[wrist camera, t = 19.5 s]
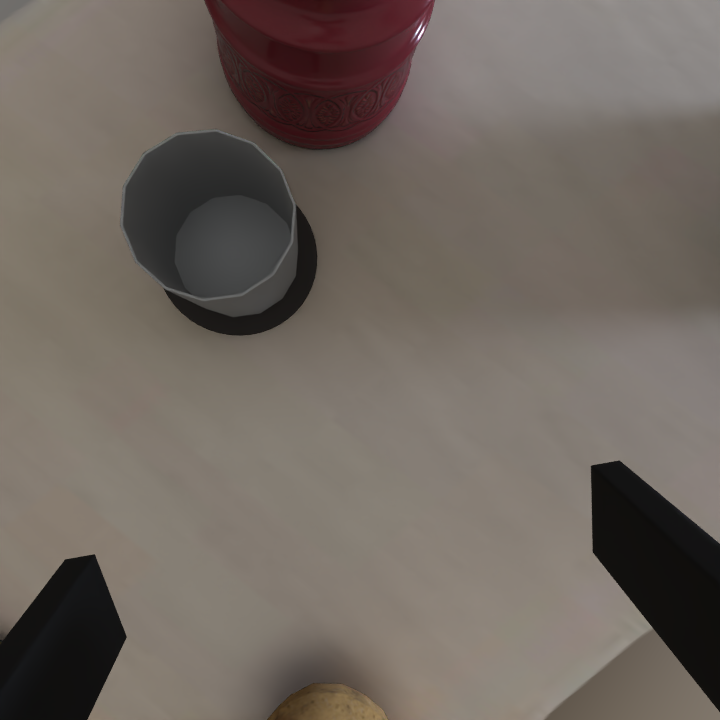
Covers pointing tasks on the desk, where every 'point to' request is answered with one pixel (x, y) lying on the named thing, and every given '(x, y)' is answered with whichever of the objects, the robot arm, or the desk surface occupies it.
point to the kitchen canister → (318, 63)
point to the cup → (212, 222)
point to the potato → (328, 704)
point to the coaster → (272, 314)
